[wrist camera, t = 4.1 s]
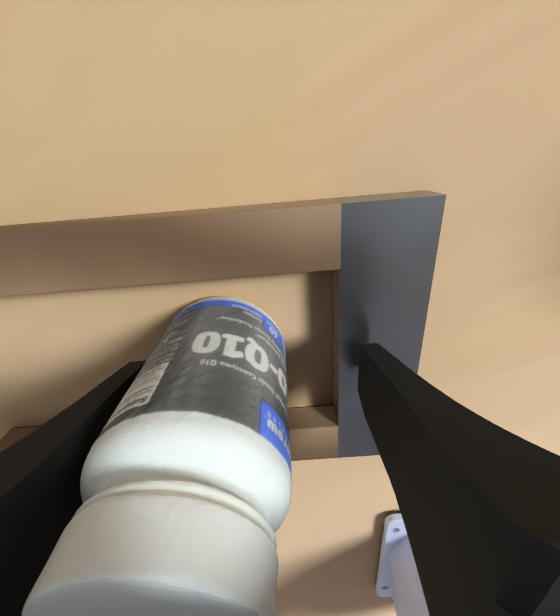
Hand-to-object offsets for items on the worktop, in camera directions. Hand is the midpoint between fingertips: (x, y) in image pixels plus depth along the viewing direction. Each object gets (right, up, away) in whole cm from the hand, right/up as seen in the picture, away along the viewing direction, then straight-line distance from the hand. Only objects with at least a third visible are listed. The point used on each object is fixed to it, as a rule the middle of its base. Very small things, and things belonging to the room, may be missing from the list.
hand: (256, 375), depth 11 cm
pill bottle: (-1, +1, +2) cm, 2 cm away
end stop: (+4, +1, +2) cm, 5 cm away
